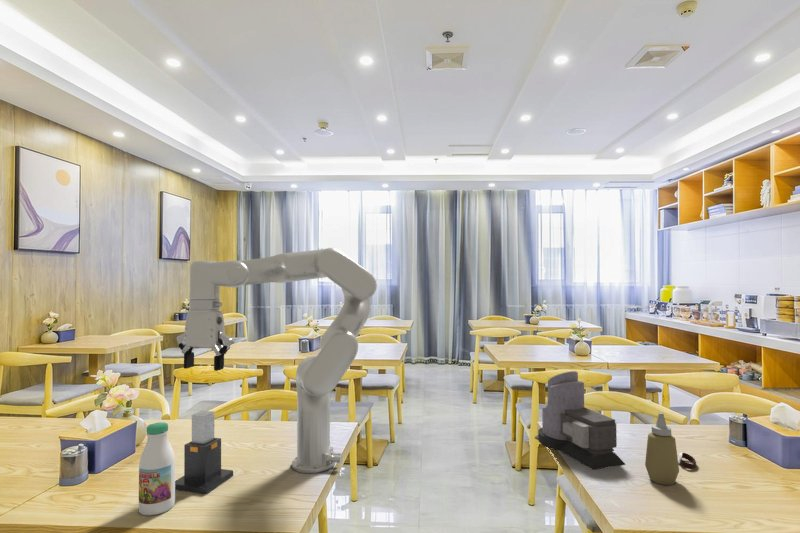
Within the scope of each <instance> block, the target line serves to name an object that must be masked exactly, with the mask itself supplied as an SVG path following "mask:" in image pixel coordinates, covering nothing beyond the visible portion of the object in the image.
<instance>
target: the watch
mask: <svg viewBox="0 0 800 533" xmlns="http://www.w3.org/2000/svg"><path fill="white" fill-rule="evenodd" d="M677 457H678V465H680V466H682V467H684V468H685V469H687V470H688V469H689V470H693V469H695V468H696V465H697V461H696V459H695V457H693V456H692V455H690V454H688V453H686V452H683V451H682V452H679V455H678V456H677ZM683 459H685V460H687V461H689V462H690V463H689V462H687V461H685V460H683Z"/></svg>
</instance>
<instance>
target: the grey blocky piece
mask: <svg viewBox="0 0 800 533" xmlns="http://www.w3.org/2000/svg"><path fill="white" fill-rule="evenodd" d="M541 410H542V411H541V413H542V424H541V425H542V426H541V427H540V428H539V429H538V430H537V433H538V434H536V435H535V436H534V439H535V440H537V441H538V442H539V443H540V444H541V445H543V446H544V447H547V448H549V449H551V450H555V451H560V452H561V453H562V454H565V455H567V456H568V457H569V458H572V459H574V461H577V462H578V463H580V464H582V465H583V466H586V467H587V468H589V469H590V470H592V471H595V470H602V469H605V468H606V469H607V468H613V467H619V466H625V465H626V463H625V462H624V461H623V460H622V459H621V457H619V456H618V454H617V453H616V452H614V451H615V449H616V448H617V444H618V442H617V440H618V439H617V436H618V435H617V422H616V419H614V418H612V417H609V416H607V415H604V414H602V413H599V412H596V411H594V410H591V409H590V408H587V407H585V382H584V381H581V380H579V372H577V371H574V370H572V371H566V372H562V373H557V374H556V375H554V376H551V377H549V379H548V380H547V404H546V405H545V406H543V407H542V408H541Z"/></svg>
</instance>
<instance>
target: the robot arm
mask: <svg viewBox="0 0 800 533" xmlns="http://www.w3.org/2000/svg"><path fill="white" fill-rule="evenodd" d="M323 278H328V279H329V280H330V281H332V282H333V283H334V284H336V285H337V286H338V287H340V288H341V291H342V293H343V296H344V297H343V299H344V300H343V305H342V307H341V309H340V311H339V312H338V314H337V315H336V317H335V318H334V319H333V321H332V323H330V325H329V326H328V327H327V329H326V331H324V333H323V334H322V336H320V337H321V338H320V341H319V347H320V351H319V352H318V354H317V355H311V356H307V357H305V358H303V359H302V360H301V361H300V362H299V364H298V365H297V367H296V371H295V384H296V398H297V399H296V401H297V404H296V405H297V406H296V407H297V408H296V409H297V411H296V414H297V415H296V418H297V419H296V420H297V421H296V422H297V423H296V431H297V432H296V434H297V435H296V436H297V437H296V442H297V444H296V445H297V446H296V449H297V450H296V451H297V452H296V453H297V454H296V455H297V456H296V457H294V458H293V460H291V468H292V469H293V470H294V471H295V472H298V473H303V474H316V473H322V472H325V471H328V470H330V469H331V468H333V467H334V465H335V464H336V463H337V464H341V463H342V462H343V456H342V452H335V451H334V447H333V446H331V402H330V401H331V396H330V395H331V394H330V393H331V392H332V391H333V390H334V389H335V388H336V387H337V385H338V383H340V381H341V380H342V378H343V377H344V375H345V374H346V373H347V370H348V369H349V368H350V367H351V365H352V363H353V362H354V360H355V359H356V357H357V354H358V351H359V342H358V339H357V337H358V335H359V334H360V332H361V330H362V329H363V327H364V326H365V324H366V322H367V321H368V319H369V315H370V312H371V298H372V297H373V296H374V295H375V293H376V291H377V287H378V286H377V280H376V278H375V276H374V275H373V274H372V273H371V272H370V271H368V270H367V269H366V268H364V267H363V266H362V265H360V264H359V263H357V262H356V261H355V260H354V259H352V258H351V257H349V256H348V255H346V254H345V253H344V252H342V251H341V250H339V249H337V248H335V247H327V248H320V249H312V250H305V251H294V252H293V251H292V252H284V253H278V254H275V255H272V256H268V257H267V256H266V257H262V258H253V259H245V260H242V259H241V260H237V259H236V260H226V261H225V260H223V261H215V260H194V261H192V262H191V263H190V266H189V310H188V311H187V314H186V319H185V327H184V332H182V333H180V334H179V335H178V336H176V341H177V344H178V348H180V350H181V353H182V355H183V369H190V368H194V366H195V352H194V349H195V348H196V349H212V350H213V353H215V355H214V356H213V371H215V372H218V371H221V370H224V368H225V367H224V366H225V355H226V354H227V352H228V351H229V350H230V348H231V345H232V343H233V341H234V340H233V338H231V337H230V336H229V335H227V334H226V329H225V327H226V326H225V319H224V313H223V311H222V310H220V308H221V307H222V306H223V302H222V301H220V287H227V288H239V287H242V286H251V285H257V284H258V285H259V284H265V283H266V284H267V283H278V284H282V283H291V282H300V281H308V280H315V279H323Z"/></svg>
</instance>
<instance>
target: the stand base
mask: <svg viewBox="0 0 800 533" xmlns="http://www.w3.org/2000/svg"><path fill="white" fill-rule="evenodd" d="M183 447H184V450H183V452H184V455H183V456H184V460H183V461H184V467H183V468H184V469H183V471H184V472H183V474H184V475H183V476H181V477H179V478H178V479H175V491H179V492H187V493H188V492H189V493H194V494H195V493H196V494H202V495H209V493H212V491H213V490H215V489H217V488H218V487H220V486H221V485H222V484H224V483H226V482H227V481H228V480H229V479H231V478H233V477H234V470H232V469H224V468H222V437H221V438H220V437H214V441H212V442H211V443H209V444H207V445H205V446H203V445H194V444H192V440H191V441H189V442H187V443H185V444H184V446H183Z"/></svg>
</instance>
